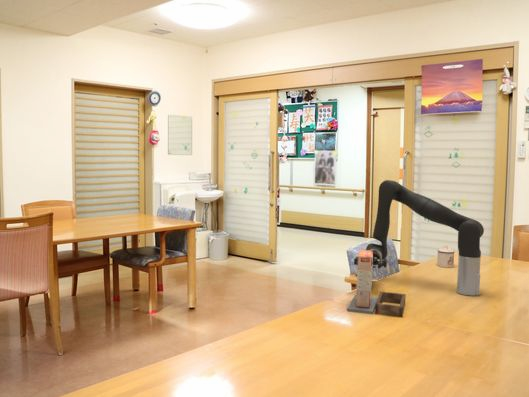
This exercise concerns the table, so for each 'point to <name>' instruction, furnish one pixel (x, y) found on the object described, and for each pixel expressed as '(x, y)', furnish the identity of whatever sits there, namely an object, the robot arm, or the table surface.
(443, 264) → the teacup with lid
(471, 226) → the robot arm
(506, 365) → the table surface
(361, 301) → the cracker box
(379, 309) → the walnut collar
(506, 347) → the table surface
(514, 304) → the table surface
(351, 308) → the flat gray rectangular board
